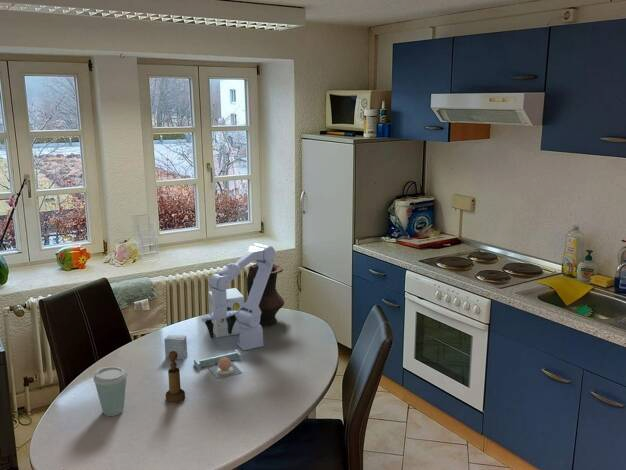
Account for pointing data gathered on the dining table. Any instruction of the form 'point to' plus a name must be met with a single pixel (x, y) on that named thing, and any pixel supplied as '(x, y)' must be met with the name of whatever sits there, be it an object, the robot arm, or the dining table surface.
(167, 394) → the brown wooden tall figure
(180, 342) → the medicine box
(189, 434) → the dining table surface
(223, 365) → the ball
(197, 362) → the divider wall
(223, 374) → the resting mat
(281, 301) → the jug
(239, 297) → the supplement box
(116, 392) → the disposable coffee cup
